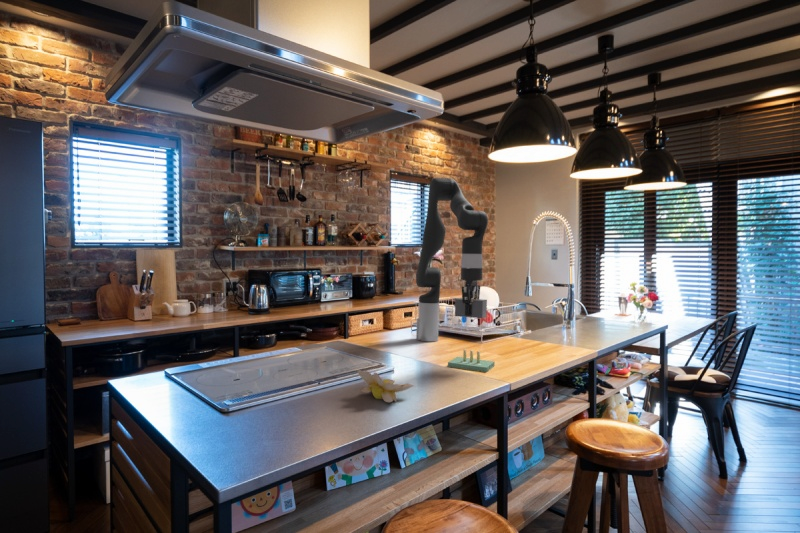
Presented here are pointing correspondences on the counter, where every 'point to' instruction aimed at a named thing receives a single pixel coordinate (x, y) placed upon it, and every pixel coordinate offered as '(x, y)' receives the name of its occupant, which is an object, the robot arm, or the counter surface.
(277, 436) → the counter surface
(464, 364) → the pin board
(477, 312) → the plug housing
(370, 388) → the decorative flower
